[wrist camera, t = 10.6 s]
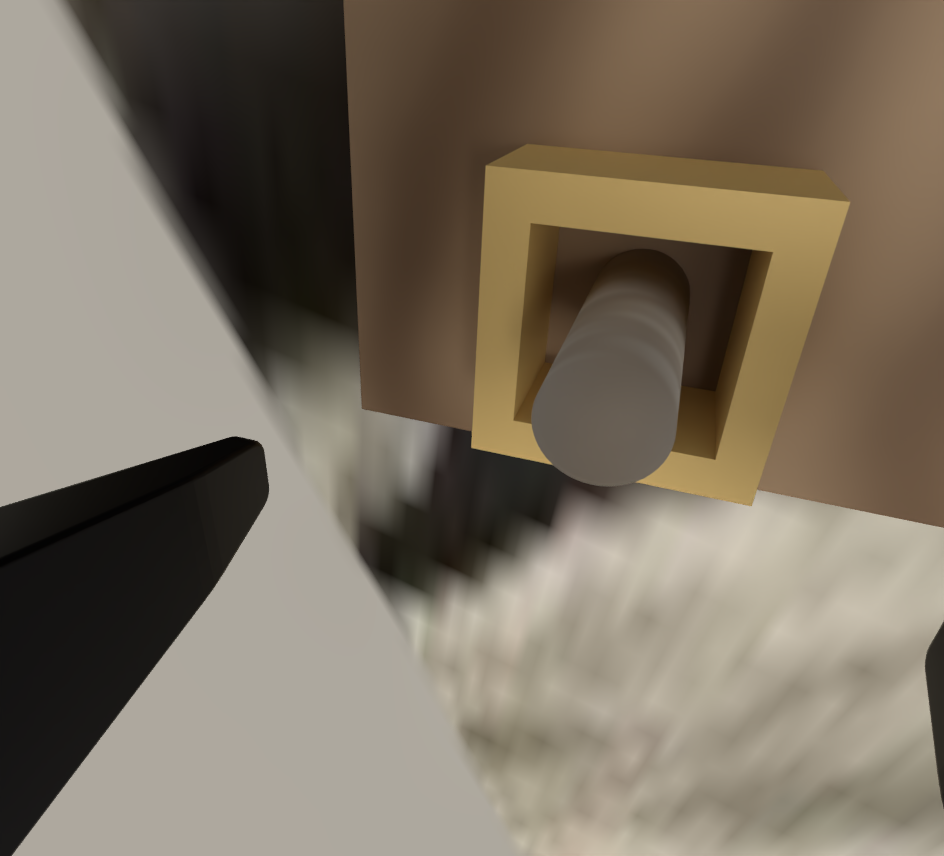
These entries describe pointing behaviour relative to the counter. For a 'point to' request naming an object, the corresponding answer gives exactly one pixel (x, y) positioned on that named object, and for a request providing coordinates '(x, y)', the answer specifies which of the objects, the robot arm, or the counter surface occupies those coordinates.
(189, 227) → the counter surface
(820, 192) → the open wall cube
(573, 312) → the board
